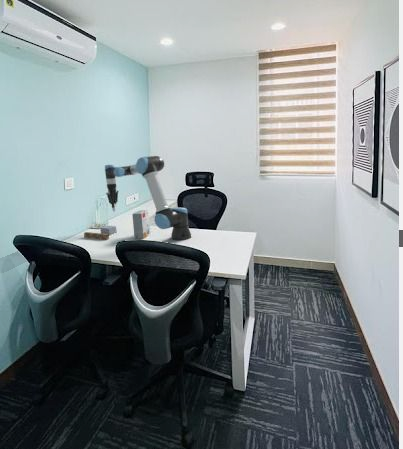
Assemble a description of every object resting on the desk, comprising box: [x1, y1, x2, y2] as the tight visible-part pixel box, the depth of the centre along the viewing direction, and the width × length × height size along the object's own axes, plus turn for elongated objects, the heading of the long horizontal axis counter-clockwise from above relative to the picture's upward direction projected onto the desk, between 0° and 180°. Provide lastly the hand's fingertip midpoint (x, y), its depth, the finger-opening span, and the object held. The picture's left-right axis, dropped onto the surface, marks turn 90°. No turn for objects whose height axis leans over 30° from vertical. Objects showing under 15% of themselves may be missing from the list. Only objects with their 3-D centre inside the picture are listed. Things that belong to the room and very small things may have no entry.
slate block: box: [99, 224, 118, 236], centre depth 277 cm, size 10×8×6 cm
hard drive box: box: [132, 209, 151, 240], centre depth 261 cm, size 16×8×20 cm, turn 168°
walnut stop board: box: [83, 231, 110, 241], centre depth 265 cm, size 24×2×4 cm, turn 63°
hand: (114, 211), depth 282 cm, fingers closed
